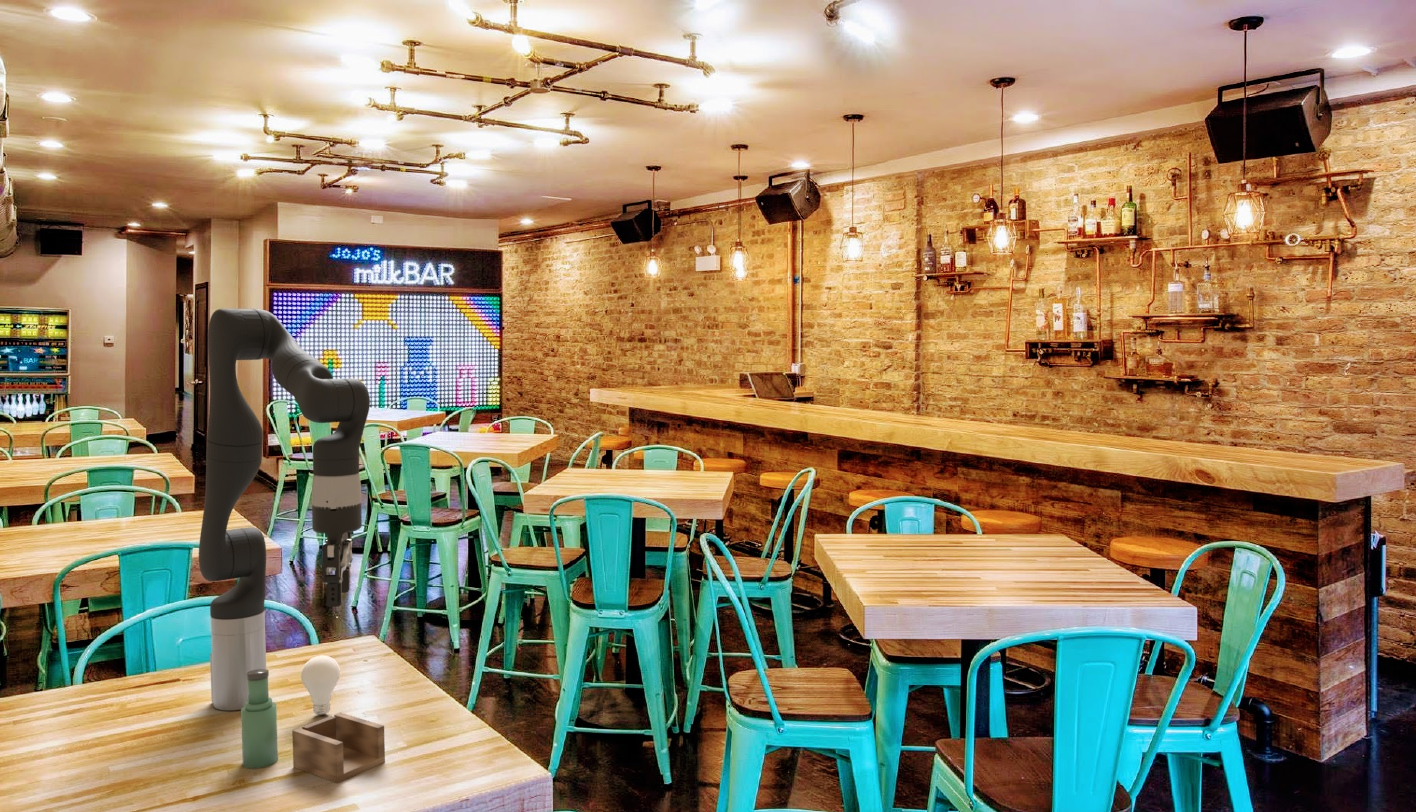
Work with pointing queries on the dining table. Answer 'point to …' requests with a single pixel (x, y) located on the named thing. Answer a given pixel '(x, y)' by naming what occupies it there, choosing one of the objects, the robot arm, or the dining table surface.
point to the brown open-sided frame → (338, 747)
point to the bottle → (259, 723)
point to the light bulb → (320, 681)
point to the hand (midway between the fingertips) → (338, 599)
